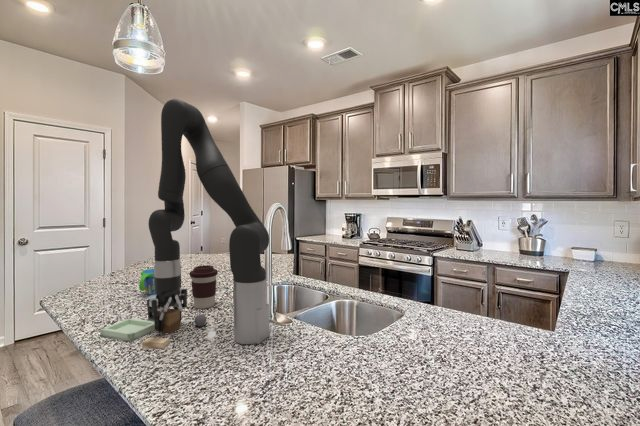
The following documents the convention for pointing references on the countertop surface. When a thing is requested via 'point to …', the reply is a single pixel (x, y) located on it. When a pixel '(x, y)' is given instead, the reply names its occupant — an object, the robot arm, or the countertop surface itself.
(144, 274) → the snack cup
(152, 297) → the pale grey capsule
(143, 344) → the beech domino
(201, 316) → the rubber ball
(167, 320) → the walnut block
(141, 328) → the sage tray
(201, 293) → the coffee cup
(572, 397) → the countertop surface
